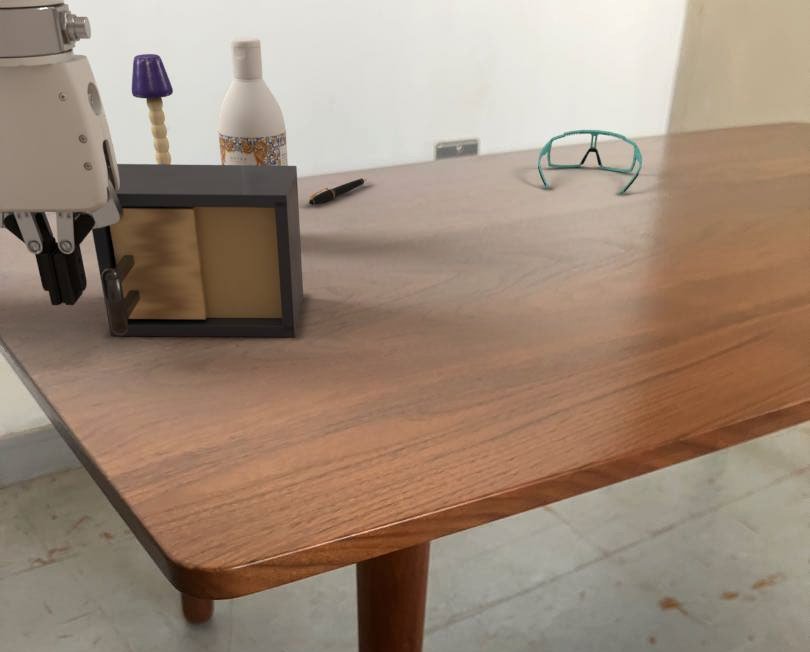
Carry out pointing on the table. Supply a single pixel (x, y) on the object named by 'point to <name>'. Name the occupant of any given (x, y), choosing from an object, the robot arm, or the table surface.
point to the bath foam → (250, 113)
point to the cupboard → (225, 245)
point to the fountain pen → (334, 192)
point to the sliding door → (154, 267)
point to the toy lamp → (153, 98)
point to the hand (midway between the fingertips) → (67, 298)
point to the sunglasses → (592, 149)
